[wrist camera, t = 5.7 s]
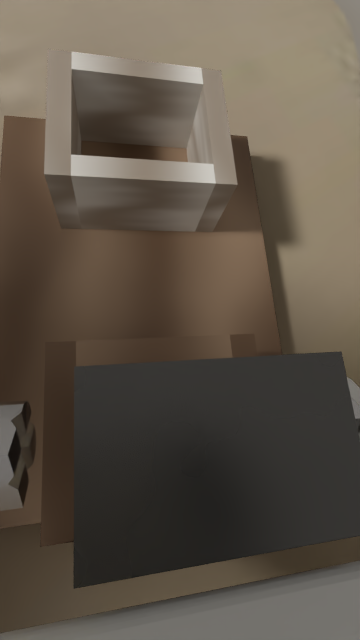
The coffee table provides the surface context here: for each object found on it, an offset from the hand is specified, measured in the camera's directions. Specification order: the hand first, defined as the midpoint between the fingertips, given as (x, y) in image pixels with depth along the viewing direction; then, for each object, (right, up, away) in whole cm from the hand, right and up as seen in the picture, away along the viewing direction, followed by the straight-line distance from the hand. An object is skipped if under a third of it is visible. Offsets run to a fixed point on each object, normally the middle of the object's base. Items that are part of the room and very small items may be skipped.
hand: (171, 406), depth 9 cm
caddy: (-2, +4, +9) cm, 10 cm away
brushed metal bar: (-1, -2, +6) cm, 6 cm away
